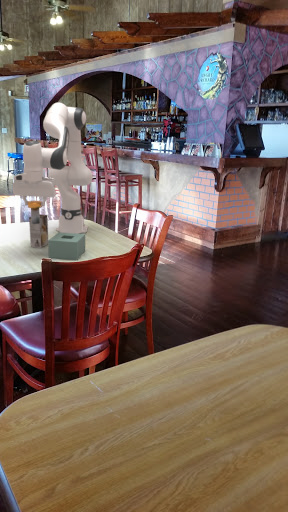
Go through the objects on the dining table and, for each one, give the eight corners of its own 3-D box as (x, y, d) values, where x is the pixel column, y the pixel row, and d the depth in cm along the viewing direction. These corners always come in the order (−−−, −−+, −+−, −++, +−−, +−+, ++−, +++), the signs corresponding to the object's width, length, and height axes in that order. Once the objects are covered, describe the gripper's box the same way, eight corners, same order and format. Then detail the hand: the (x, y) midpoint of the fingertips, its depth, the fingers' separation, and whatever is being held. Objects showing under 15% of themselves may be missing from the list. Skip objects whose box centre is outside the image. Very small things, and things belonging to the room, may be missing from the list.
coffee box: (37, 242, 228) (36, 213, 224) (48, 243, 227) (47, 214, 222) (30, 247, 220) (28, 217, 215) (41, 248, 219) (40, 218, 214)
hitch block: (59, 248, 219) (58, 232, 216) (85, 250, 217) (85, 234, 214) (49, 258, 203) (48, 240, 201) (77, 260, 202) (76, 242, 199)
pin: (31, 221, 208) (30, 200, 205) (44, 222, 207) (43, 201, 204) (26, 224, 202) (25, 202, 198) (39, 225, 201) (39, 203, 198)
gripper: (57, 176, 199) (57, 205, 204) (15, 174, 201) (17, 203, 206) (52, 178, 193) (53, 208, 198) (10, 176, 195) (12, 205, 200)
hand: (34, 205), depth 202 cm, fingers closed on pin, 7 cm apart
